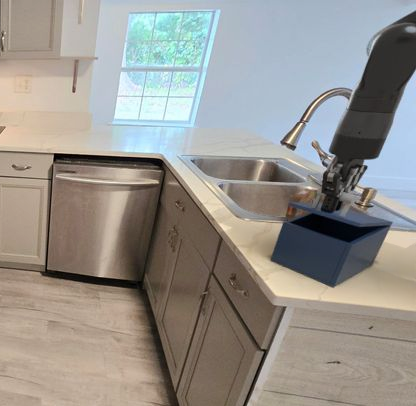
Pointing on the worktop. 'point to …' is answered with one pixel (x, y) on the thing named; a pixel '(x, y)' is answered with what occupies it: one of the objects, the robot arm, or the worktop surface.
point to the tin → (300, 197)
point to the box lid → (342, 211)
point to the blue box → (327, 247)
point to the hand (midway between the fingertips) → (330, 210)
